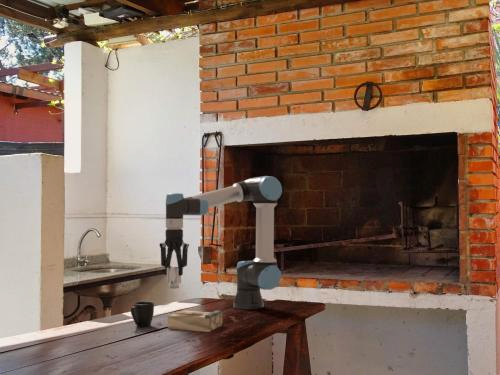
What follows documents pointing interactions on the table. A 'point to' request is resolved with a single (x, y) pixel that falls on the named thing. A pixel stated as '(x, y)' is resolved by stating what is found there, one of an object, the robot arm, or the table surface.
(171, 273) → the cylinder
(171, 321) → the block
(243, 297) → the robot arm
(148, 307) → the mug
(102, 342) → the table surface
